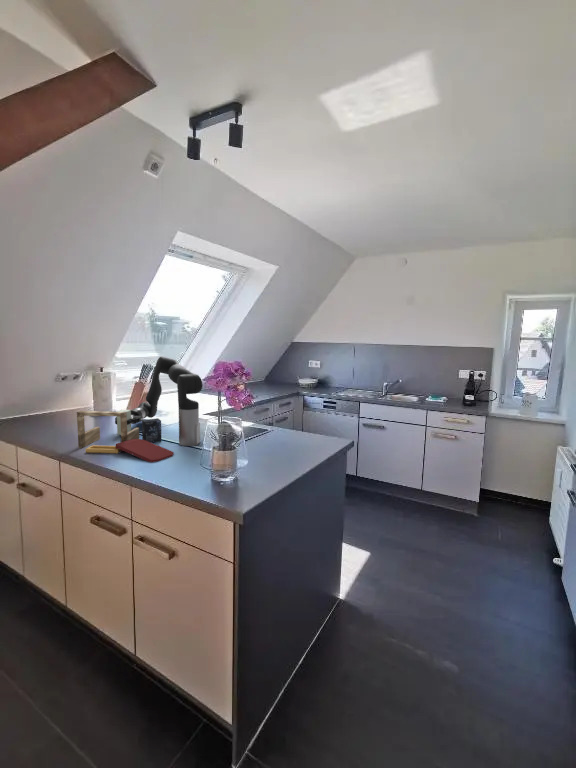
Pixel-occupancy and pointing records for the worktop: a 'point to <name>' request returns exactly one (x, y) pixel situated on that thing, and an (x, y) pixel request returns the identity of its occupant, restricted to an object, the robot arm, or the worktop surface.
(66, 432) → the worktop surface
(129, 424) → the block
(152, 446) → the dark red bent panel
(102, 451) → the tray
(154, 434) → the box
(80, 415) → the tunnel
